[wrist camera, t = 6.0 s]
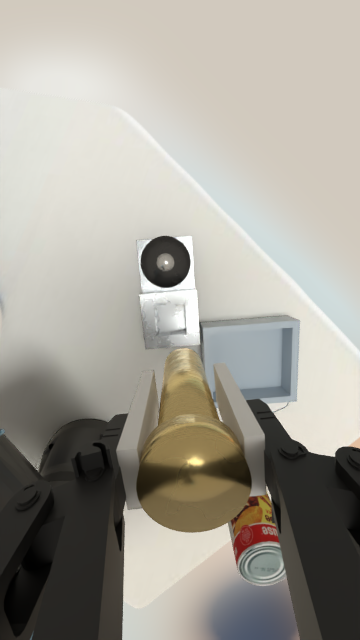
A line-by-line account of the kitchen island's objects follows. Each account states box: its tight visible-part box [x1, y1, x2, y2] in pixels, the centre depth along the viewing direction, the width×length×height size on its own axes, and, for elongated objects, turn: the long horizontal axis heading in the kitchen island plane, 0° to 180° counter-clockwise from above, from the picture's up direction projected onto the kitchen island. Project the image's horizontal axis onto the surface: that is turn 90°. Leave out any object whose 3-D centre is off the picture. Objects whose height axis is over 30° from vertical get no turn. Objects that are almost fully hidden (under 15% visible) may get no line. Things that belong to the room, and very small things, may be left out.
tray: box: [200, 316, 300, 408], centre depth 34 cm, size 14×13×4 cm
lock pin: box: [136, 348, 252, 532], centre depth 13 cm, size 4×4×10 cm
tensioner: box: [136, 236, 200, 349], centre depth 32 cm, size 16×8×4 cm, turn 4°
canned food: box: [228, 492, 287, 586], centre depth 36 cm, size 8×8×12 cm
